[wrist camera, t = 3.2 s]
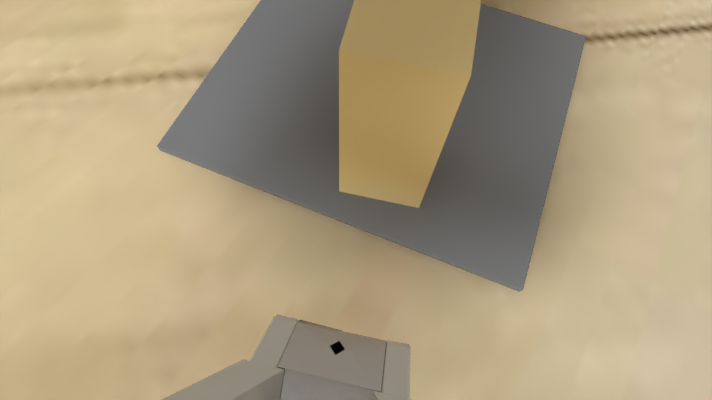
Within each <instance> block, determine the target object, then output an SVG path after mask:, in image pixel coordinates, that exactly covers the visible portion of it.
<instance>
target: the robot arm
mask: <svg viewBox="0 0 712 400" xmlns="http://www.w3.org/2000/svg"><path fill="white" fill-rule="evenodd" d="M410 355H411V347H410V346H409V345H408V344H403V343H398V342H393V341H388V340H387V341H384V340H380V339H376V338H371V337H367V336H362V335H358V334H353V333H349V332H344V331H342V330H338V329H334V328H330V327H326V326H322V325H319V324H315V323H311V322H307V321H303V320H298V319H295V318H290V317H286V316H282V315H278V314H277V315H276V316H275V317H273V319H272V321H271V323H270V325H269V327H268V328H267V330H266V332H265V334H264V336H263V338H262V339H261V341H260V343H259V345H258V347H257V349H256V351H255V352H254V354H253V356H252V358H251V360H250V361H248V360H241V361H239V362H237V363H235V364H233V365H231V366H229V367H227V368H225V369H223V370H221V371H219V372H217V373H215V374H213V375H211V376H209V377H207V378H205V379H203V380H201V381H199V382H197V383H194V384H192V385H190V386H188V387H186V388H184V389H182V390H180V391H178V392H176V393H174V394H172V395H170V396H168V397H166V398H164V399H162V400H410Z"/></svg>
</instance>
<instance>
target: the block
mask: <svg viewBox="0 0 712 400" xmlns="http://www.w3.org/2000/svg"><path fill="white" fill-rule="evenodd" d="M480 6H481V0H354V3H353V6H352V9H351V12H350V16H349V19H348V22H347V25H346V29H345V32H344V35H343V38H342V41H341V45H340V48H339V191H340V192H344V193H349V194H354V195H359V196H363V197H368V198H373V199H378V200H383V201H387V202H392V203H397V204H402V205H406V206H411V207H416V208H419V207H420V204H421V201H422V199H423V196H424V194H425V191H426V189H427V186H428V184H429V181H430V179H431V176H432V173H433V171H434V168H435V166H436V163H437V161H438V158H439V156H440V153H441V151H442V148H443V146H444V143H445V140H446V138H447V135H448V133H449V130H450V128H451V125H452V123H453V120H454V118H455V115H456V112H457V110H458V107H459V105H460V102H461V100H462V97H463V95H464V92H465V90H466V87H467V85H468V82H469V79H470V77H471V73H472V65H473V58H474V50H475V43H476V36H477V28H478V21H479V13H480Z"/></svg>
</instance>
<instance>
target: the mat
mask: <svg viewBox="0 0 712 400" xmlns="http://www.w3.org/2000/svg"><path fill="white" fill-rule="evenodd" d="M353 3H354V0H261V1H260V2H259V4H258V5H257V6H256V8H255V9H254V11H253V12H252V14H251V15H250V16H249V18H248V19H247V21H246V22H245V23H244V25H243V26H242V28H241V29H240V30H239V32H238V33H237V35H236V36H235V37H234V39H233V40H232V42H231V43H230V44H229V46H228V47H227V49H226V50H225V51H224V53H223V54H222V56H221V57H220V58H219V60H218V61H217V63H216V64H215V65H214V67H213V68H212V70H211V71H210V72H209V74H208V75H207V77H206V78H205V80H204V81H203V82H202V84H201V85H200V87H199V88H198V89H197V91H196V92H195V94H194V95H193V96H192V98H191V99H190V101H189V102H188V103H187V105H186V106H185V108H184V109H183V110H182V112H181V113H180V115H179V116H178V117H177V119H176V120H175V122H174V123H173V124H172V126H171V127H170V129H169V130H168V131H167V133H166V134H165V136H164V137H163V139H162V140H161V141H160V143H159V144H158V146H157V147H158V148H159V149H160V150H161V151H163V152H166V153H169V154H171V155H174V156H176V157H179V158H181V159H184V160H186V161H189V162H191V163H194V164H197V165H199V166H202V167H204V168H207V169H209V170H212V171H214V172H217V173H219V174H222V175H225V176H227V177H230V178H232V179H235V180H237V181H240V182H242V183H245V184H247V185H250V186H252V187H255V188H258V189H260V190H263V191H265V192H268V193H270V194H273V195H275V196H278V197H280V198H283V199H286V200H288V201H291V202H293V203H296V204H298V205H301V206H303V207H306V208H308V209H311V210H314V211H316V212H319V213H321V214H324V215H326V216H329V217H331V218H334V219H336V220H339V221H342V222H344V223H347V224H349V225H352V226H354V227H357V228H359V229H362V230H364V231H367V232H370V233H372V234H375V235H377V236H380V237H382V238H385V239H387V240H390V241H392V242H395V243H397V244H400V245H403V246H405V247H408V248H410V249H413V250H415V251H418V252H420V253H423V254H425V255H428V256H431V257H433V258H436V259H438V260H441V261H443V262H446V263H448V264H451V265H453V266H456V267H459V268H461V269H464V270H466V271H469V272H471V273H474V274H476V275H479V276H481V277H484V278H487V279H489V280H492V281H494V282H497V283H499V284H502V285H504V286H507V287H509V288H512V289H514V290H517V291H521V290H523V287H524V283H525V279H526V275H527V271H528V267H529V263H530V259H531V255H532V251H533V247H534V243H535V239H536V235H537V231H538V227H539V223H540V219H541V215H542V211H543V207H544V203H545V199H546V194H547V190H548V186H549V182H550V178H551V174H552V170H553V166H554V162H555V158H556V154H557V150H558V146H559V142H560V138H561V134H562V130H563V126H564V122H565V118H566V114H567V110H568V106H569V102H570V98H571V94H572V90H573V86H574V82H575V78H576V74H577V70H578V66H579V62H580V58H581V54H582V50H583V46H584V42H585V38H586V36H583V35H580V34H577V33H573V32H570V31H567V30H564V29H560V28H557V27H554V26H551V25H547V24H544V23H541V22H538V21H534V20H531V19H528V18H525V17H522V16H518V15H515V14H512V13H509V12H505V11H502V10H499V9H496V8H492V7H489V6H486V5H483V4H481V6H480V13H479V21H478V28H477V36H476V43H475V50H474V58H473V65H472V73H471V77H470V79H469V82H468V85H467V87H466V90H465V92H464V95H463V97H462V100H461V102H460V105H459V107H458V110H457V112H456V115H455V118H454V120H453V123H452V125H451V128H450V130H449V133H448V135H447V138H446V140H445V143H444V146H443V148H442V151H441V153H440V156H439V158H438V161H437V163H436V166H435V168H434V171H433V173H432V176H431V179H430V181H429V184H428V186H427V189H426V191H425V194H424V196H423V199H422V201H421V204H420V207H419V208H416V207H411V206H406V205H402V204H397V203H392V202H387V201H383V200H378V199H373V198H368V197H363V196H359V195H354V194H349V193H344V192H340V191H339V48H340V45H341V41H342V38H343V35H344V32H345V29H346V25H347V22H348V19H349V16H350V12H351V9H352V6H353Z"/></svg>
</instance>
